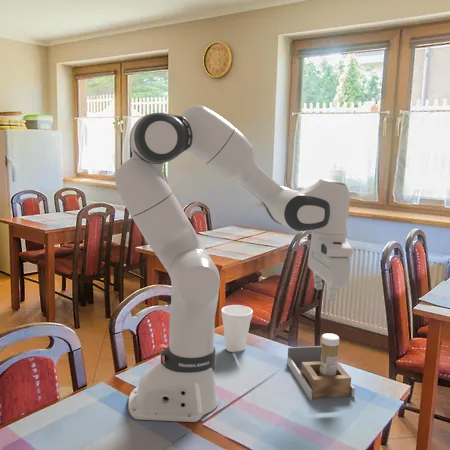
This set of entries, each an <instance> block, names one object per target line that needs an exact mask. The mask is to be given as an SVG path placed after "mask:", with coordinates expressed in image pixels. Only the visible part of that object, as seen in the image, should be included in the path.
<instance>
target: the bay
mask: <svg viewBox="0 0 450 450" xmlns="http://www.w3.org/2000/svg"><path fill="white" fill-rule="evenodd" d="M321 350H322V345H316V346H313V345H312V346H291V347H290V346H288V347H287V361H286V364H287V366H288V367H289V369H290V371H291V372H292V375H293V376H294V377H295V379H296V381H298V384H299V385H300V386H301V388H302V389H303V391H304V392H305V395H306V396H307V397H308V399H309V400H311V401H312V400H313V398H312V392H313V390H312V389H311V387H310V386H309V384H308V383H307V381H306V380H305V378H304V377H303V375H302V374H301V370H300V369H299V368H298V367H297V365H302V362H316V361H321ZM355 390H356V387H355V386H354V385H353V384H352V383H351V387H350V397H351V398H355V394H356V393H355Z"/></svg>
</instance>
